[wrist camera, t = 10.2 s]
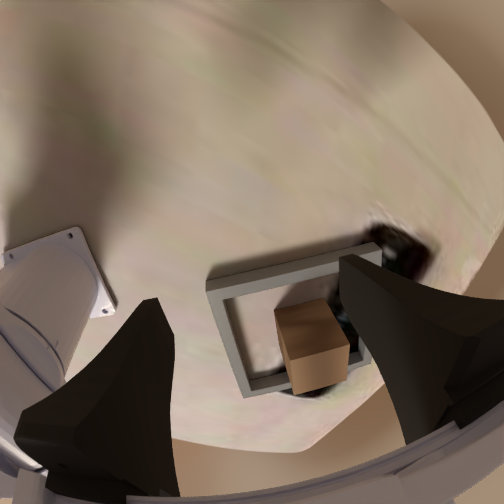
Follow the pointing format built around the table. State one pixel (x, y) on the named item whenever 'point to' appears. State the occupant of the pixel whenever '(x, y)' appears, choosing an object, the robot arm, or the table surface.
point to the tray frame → (268, 280)
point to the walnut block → (312, 345)
